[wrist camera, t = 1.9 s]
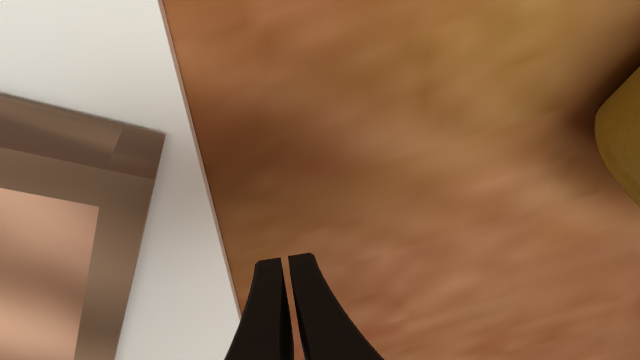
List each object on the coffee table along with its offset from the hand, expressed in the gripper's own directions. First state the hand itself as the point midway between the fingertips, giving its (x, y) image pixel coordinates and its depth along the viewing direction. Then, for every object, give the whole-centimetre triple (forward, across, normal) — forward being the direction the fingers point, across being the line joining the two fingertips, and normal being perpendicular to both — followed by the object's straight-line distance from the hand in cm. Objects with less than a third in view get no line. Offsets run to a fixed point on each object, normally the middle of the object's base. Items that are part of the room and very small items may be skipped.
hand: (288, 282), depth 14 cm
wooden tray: (+7, +11, +3) cm, 14 cm away
